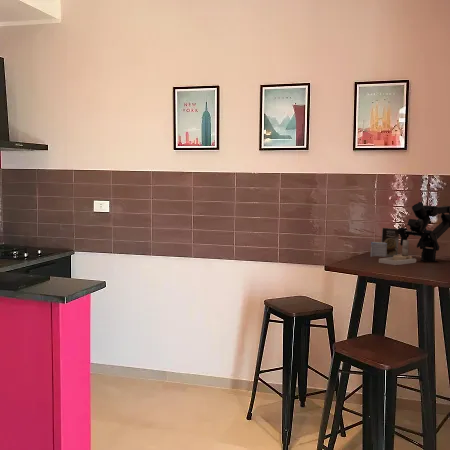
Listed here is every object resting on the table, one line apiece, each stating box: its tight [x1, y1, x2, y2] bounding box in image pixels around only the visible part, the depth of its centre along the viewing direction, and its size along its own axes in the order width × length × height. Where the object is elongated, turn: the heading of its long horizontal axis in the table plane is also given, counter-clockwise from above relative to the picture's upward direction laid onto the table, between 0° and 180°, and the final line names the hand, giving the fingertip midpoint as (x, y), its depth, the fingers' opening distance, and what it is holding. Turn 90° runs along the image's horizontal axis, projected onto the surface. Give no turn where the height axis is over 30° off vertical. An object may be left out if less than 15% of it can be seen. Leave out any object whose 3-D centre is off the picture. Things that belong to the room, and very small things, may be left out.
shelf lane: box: [378, 257, 417, 266], centre depth 267 cm, size 19×10×3 cm, turn 130°
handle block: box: [393, 239, 413, 261], centre depth 269 cm, size 7×6×11 cm
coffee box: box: [380, 227, 400, 258], centre depth 299 cm, size 9×6×16 cm
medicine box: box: [369, 241, 387, 258], centre depth 291 cm, size 8×4×9 cm, turn 84°
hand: (408, 246), depth 273 cm, fingers open, 9 cm apart
